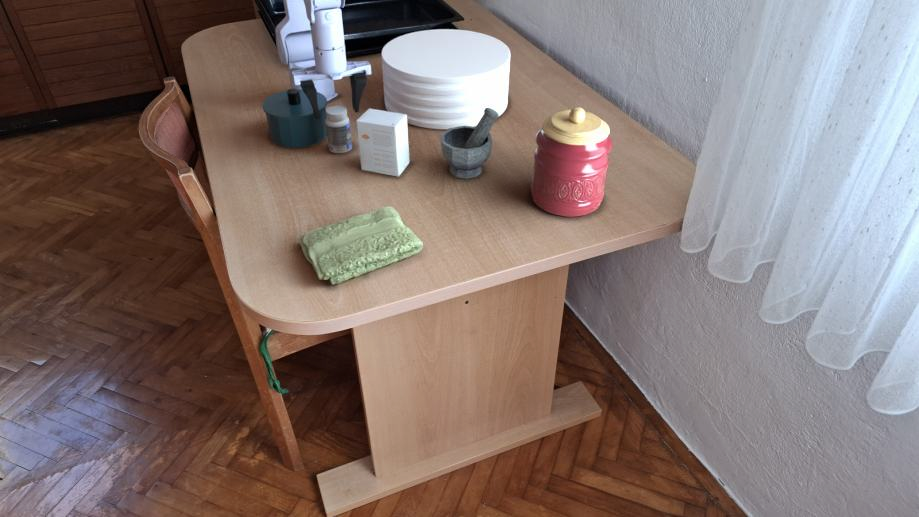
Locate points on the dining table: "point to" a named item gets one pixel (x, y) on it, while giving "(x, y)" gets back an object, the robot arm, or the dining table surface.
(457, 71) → the plate stack
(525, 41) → the dining table surface
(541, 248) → the dining table surface
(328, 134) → the pill bottle
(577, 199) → the kitchen canister
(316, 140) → the pot
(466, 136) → the mortar and pestle
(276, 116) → the pot lid
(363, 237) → the washcloth
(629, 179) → the dining table surface
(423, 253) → the dining table surface
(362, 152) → the small box
